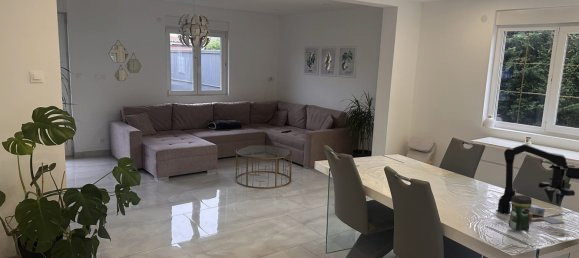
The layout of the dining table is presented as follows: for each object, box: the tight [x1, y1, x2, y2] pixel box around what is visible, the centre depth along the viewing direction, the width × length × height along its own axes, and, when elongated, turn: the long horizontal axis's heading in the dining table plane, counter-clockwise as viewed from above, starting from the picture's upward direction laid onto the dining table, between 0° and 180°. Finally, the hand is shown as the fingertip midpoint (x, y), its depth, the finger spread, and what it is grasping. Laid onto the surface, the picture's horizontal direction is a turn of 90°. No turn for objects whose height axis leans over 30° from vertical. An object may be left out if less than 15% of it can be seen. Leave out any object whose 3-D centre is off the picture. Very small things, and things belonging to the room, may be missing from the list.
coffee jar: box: [508, 194, 533, 232], centre depth 224 cm, size 10×8×19 cm
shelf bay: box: [529, 213, 544, 223], centre depth 243 cm, size 10×8×4 cm
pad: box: [542, 217, 565, 225], centre depth 240 cm, size 9×8×1 cm
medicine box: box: [529, 204, 546, 217], centre depth 250 cm, size 8×4×9 cm
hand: (554, 203), depth 239 cm, fingers open, 4 cm apart
